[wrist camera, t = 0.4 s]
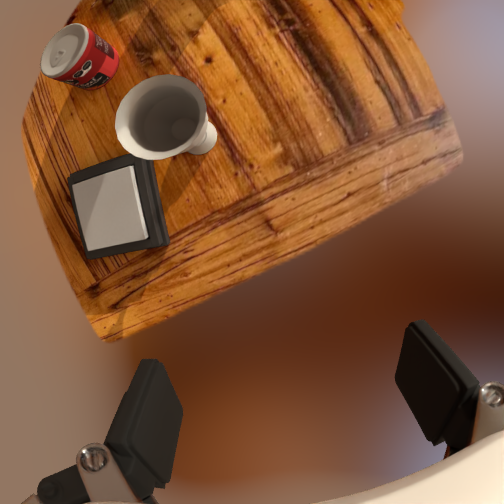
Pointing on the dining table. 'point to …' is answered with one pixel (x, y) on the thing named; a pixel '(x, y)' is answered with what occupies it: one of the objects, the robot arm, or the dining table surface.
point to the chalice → (164, 119)
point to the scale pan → (110, 209)
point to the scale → (148, 200)
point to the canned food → (79, 58)
